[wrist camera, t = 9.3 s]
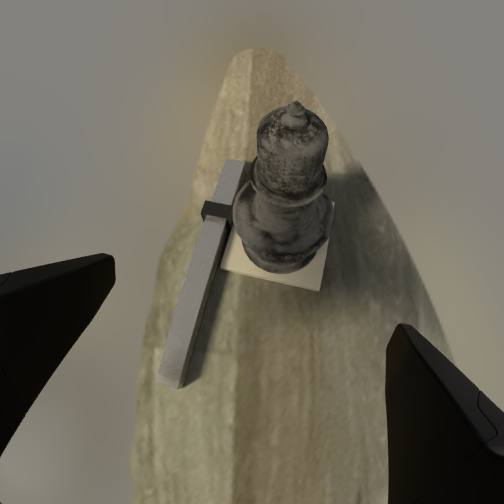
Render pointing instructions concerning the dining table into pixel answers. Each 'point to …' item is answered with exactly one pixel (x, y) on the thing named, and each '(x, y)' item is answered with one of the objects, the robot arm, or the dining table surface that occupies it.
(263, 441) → the dining table surface
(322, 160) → the dark grey tiered figure
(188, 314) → the white rectangular bar
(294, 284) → the groove pad
